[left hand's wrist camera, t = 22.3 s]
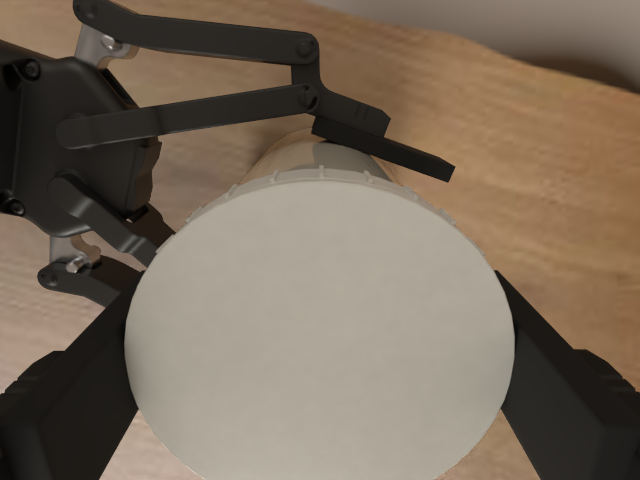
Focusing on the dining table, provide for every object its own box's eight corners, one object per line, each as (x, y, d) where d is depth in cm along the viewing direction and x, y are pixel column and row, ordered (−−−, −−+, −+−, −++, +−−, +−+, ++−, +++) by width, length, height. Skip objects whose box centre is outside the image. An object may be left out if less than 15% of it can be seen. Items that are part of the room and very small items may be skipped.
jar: (419, 182, 27) (554, 311, 11) (335, 288, 29) (353, 510, 14) (301, 95, 25) (270, 109, 10) (222, 216, 27) (99, 380, 12)
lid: (567, 290, 12) (604, 320, 10) (363, 507, 15) (368, 556, 13) (254, 84, 10) (243, 83, 8) (92, 379, 13) (61, 419, 11)
